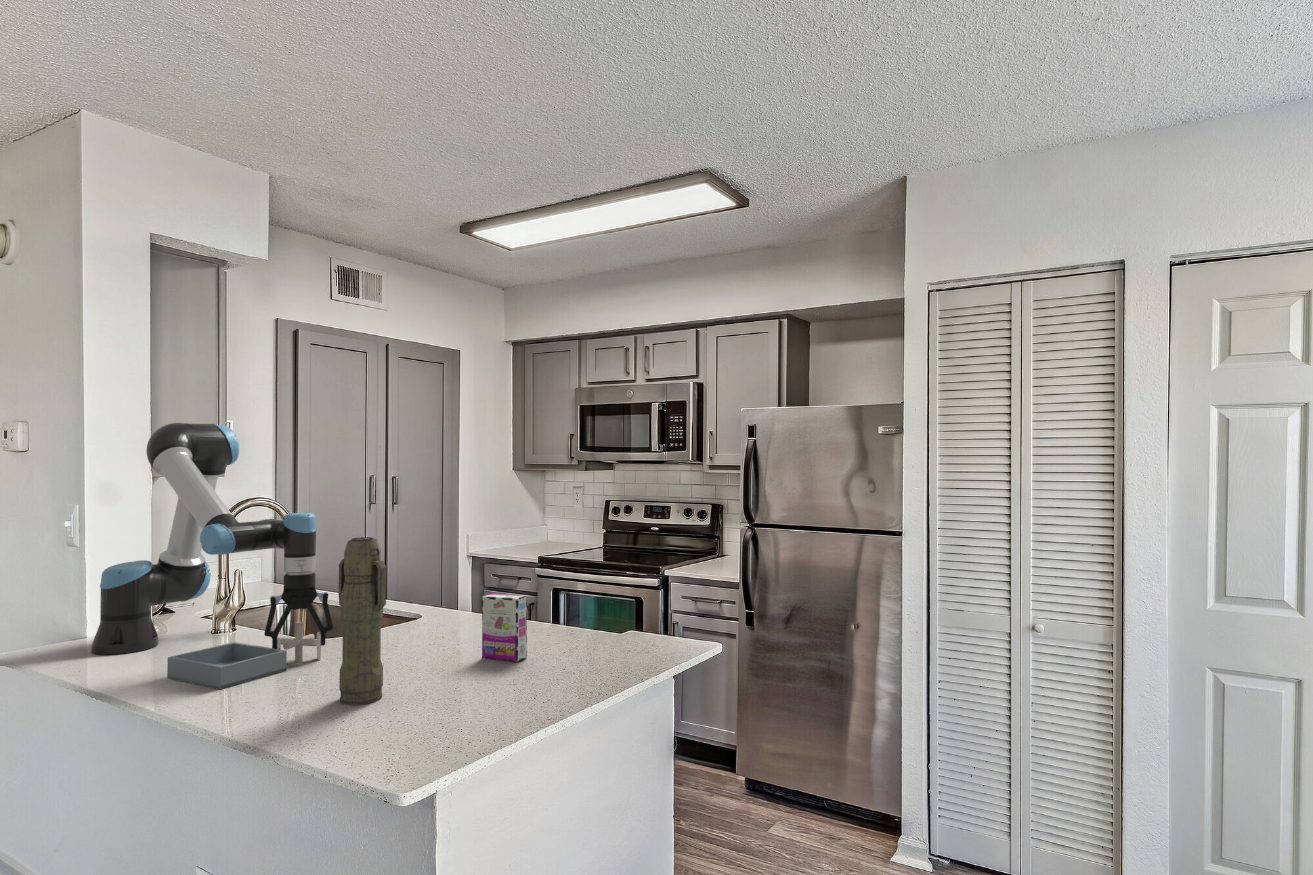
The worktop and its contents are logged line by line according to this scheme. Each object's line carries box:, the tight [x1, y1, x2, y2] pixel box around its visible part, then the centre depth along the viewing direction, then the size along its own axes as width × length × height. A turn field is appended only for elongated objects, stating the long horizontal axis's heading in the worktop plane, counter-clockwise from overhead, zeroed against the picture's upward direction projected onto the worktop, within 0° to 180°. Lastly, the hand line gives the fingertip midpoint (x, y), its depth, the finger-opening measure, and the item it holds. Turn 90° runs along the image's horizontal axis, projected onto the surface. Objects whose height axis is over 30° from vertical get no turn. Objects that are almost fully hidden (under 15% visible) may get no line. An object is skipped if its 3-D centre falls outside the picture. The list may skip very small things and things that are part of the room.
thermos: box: [338, 536, 388, 706], centre depth 168 cm, size 9×12×35 cm
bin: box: [166, 641, 288, 690], centre depth 186 cm, size 20×17×5 cm
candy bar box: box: [481, 593, 528, 663], centre depth 201 cm, size 11×5×16 cm, turn 68°
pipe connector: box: [281, 621, 318, 663], centre depth 198 cm, size 10×10×10 cm
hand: (298, 660), depth 198 cm, fingers closed on pipe connector, 9 cm apart
